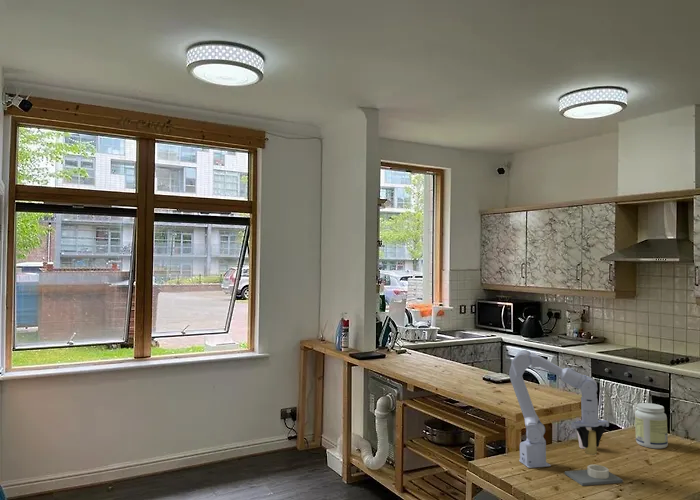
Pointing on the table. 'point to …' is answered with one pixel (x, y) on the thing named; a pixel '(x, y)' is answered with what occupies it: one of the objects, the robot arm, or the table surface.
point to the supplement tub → (651, 426)
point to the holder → (593, 476)
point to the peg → (591, 443)
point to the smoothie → (580, 439)
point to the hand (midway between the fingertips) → (590, 446)
